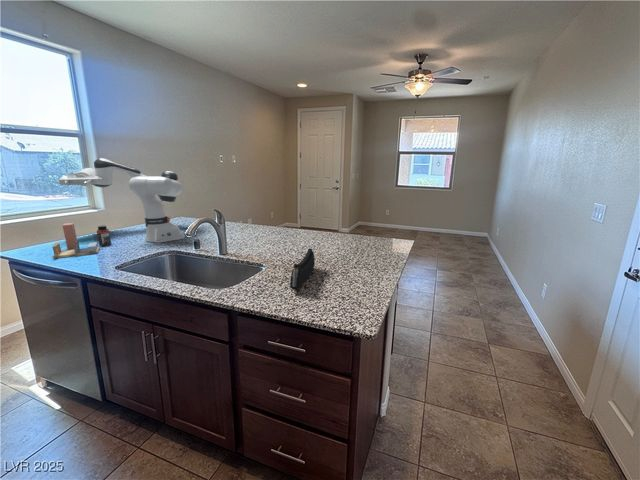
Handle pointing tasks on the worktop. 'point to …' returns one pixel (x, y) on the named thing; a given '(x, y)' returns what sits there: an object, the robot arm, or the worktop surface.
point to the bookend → (77, 248)
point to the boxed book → (70, 235)
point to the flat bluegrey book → (92, 247)
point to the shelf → (68, 252)
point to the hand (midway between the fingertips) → (76, 183)
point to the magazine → (302, 270)
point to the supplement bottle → (103, 235)
